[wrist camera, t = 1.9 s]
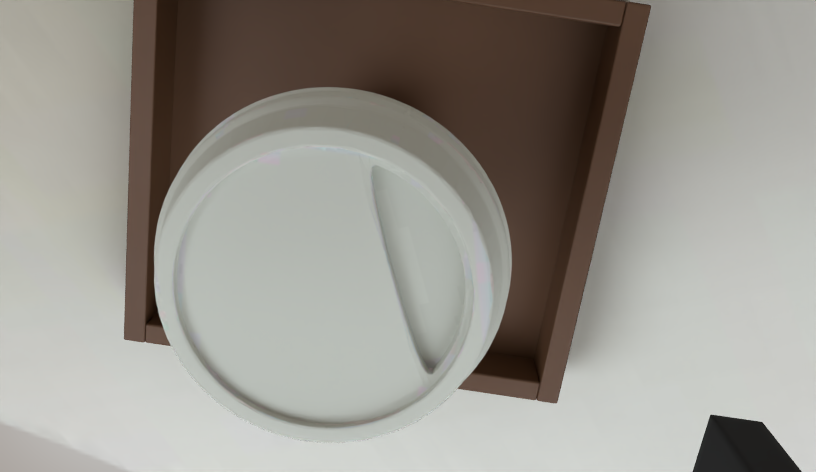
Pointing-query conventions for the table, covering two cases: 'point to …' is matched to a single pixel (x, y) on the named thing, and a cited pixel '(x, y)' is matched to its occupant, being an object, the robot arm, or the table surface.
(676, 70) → the table surface
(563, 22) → the tray
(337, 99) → the coffee cup
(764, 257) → the table surface
